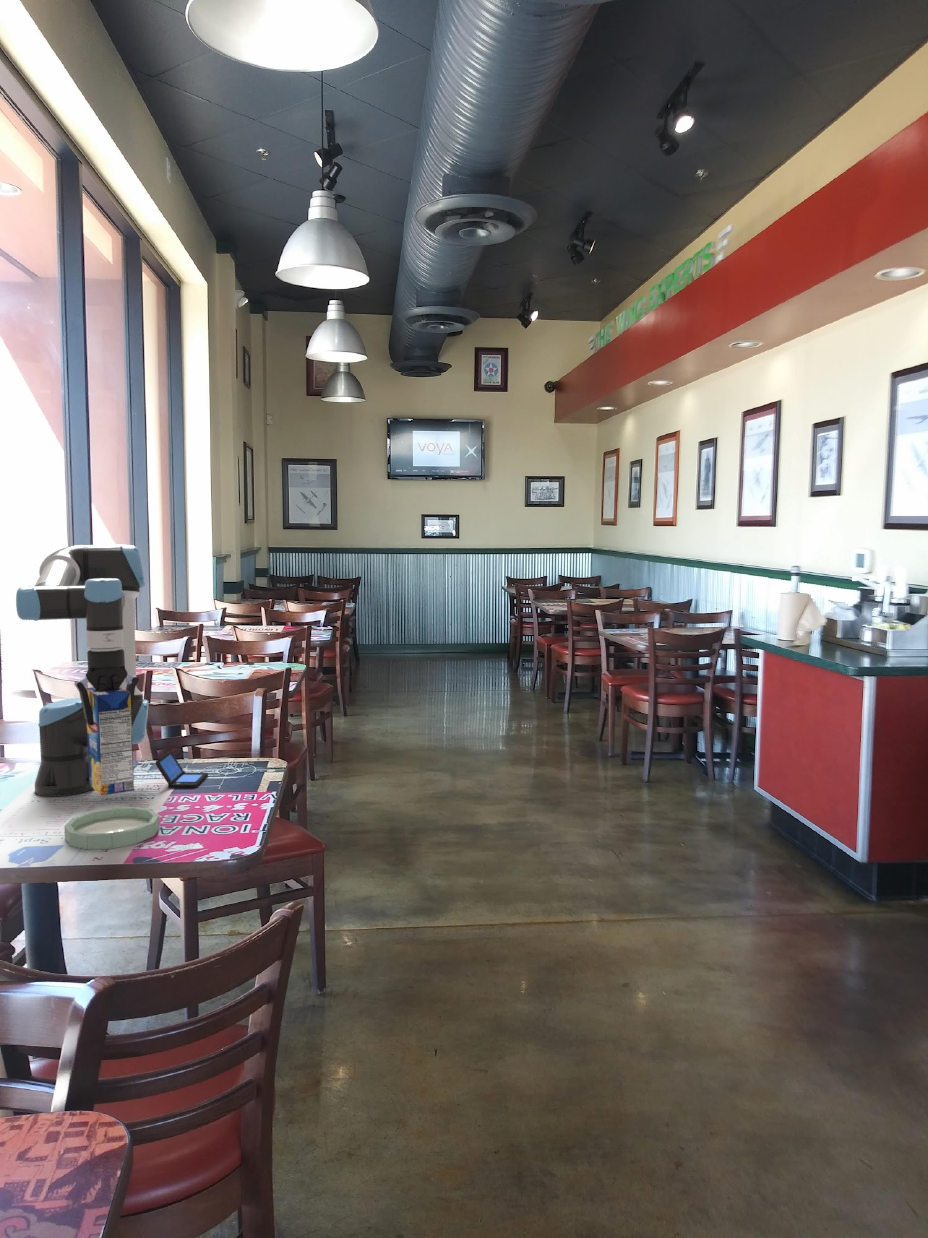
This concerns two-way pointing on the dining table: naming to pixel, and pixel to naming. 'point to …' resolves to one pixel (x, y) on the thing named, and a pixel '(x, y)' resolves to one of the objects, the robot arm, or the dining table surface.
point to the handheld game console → (178, 773)
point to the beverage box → (110, 742)
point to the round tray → (111, 827)
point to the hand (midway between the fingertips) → (109, 753)
